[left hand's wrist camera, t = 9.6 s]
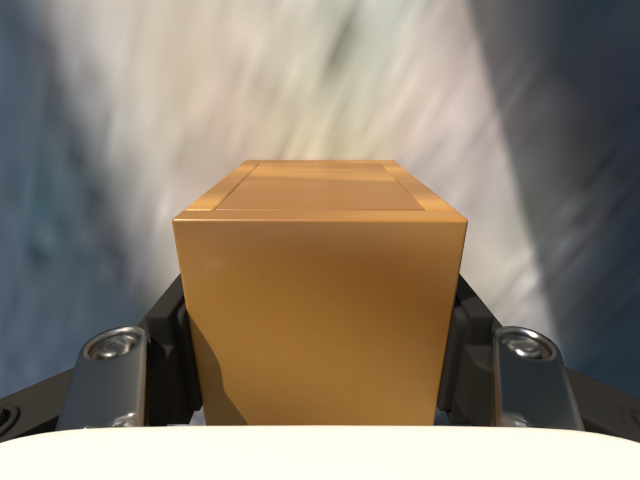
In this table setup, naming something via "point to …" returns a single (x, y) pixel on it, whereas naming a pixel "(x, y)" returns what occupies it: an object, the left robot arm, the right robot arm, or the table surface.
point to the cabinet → (319, 293)
